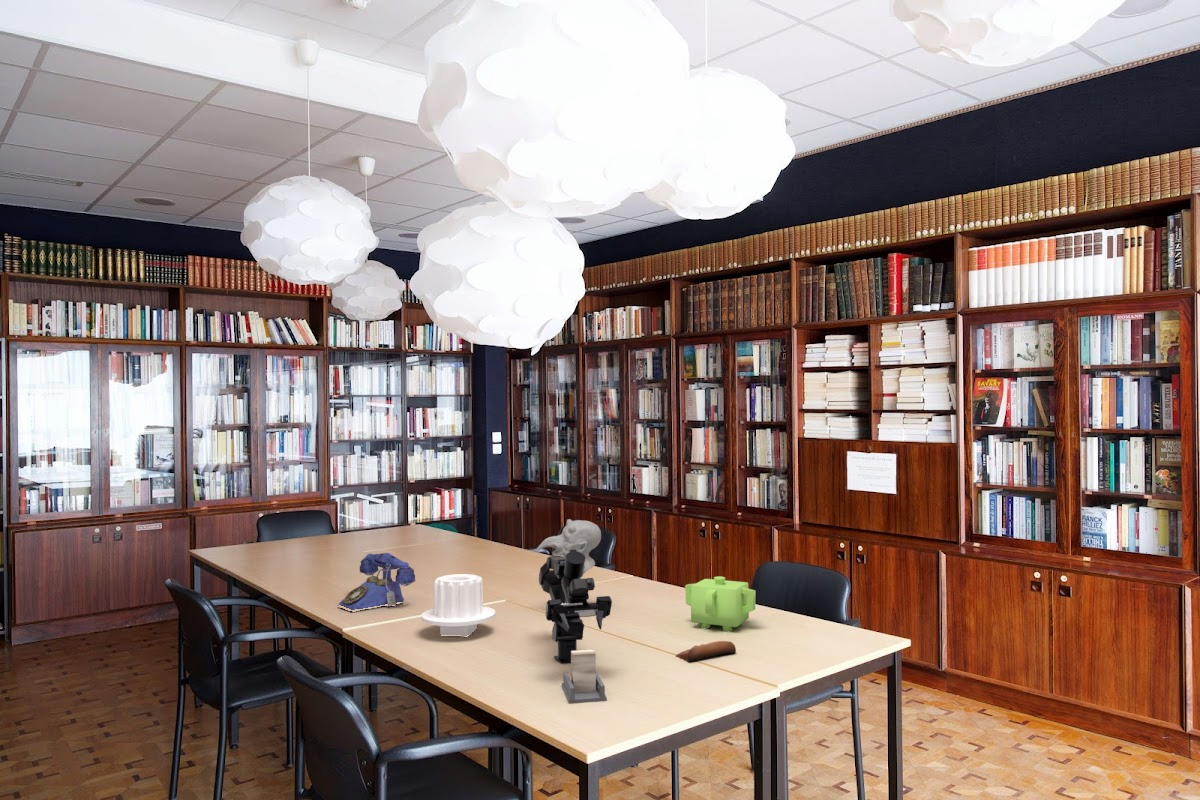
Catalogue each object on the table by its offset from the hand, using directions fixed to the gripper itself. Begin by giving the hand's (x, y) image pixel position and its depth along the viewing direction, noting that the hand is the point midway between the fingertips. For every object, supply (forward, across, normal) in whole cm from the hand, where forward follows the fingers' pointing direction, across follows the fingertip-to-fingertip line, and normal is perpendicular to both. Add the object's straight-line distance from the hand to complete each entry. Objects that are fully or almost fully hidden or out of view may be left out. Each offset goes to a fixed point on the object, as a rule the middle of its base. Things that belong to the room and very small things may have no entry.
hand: (584, 629), depth 232 cm
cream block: (+14, -2, +8) cm, 16 cm away
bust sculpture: (-60, +15, +54) cm, 82 cm away
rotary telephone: (-93, -59, +74) cm, 133 cm away
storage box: (-32, +60, +37) cm, 77 cm away
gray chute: (+14, -2, +9) cm, 17 cm away
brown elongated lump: (-5, +42, +21) cm, 47 cm away
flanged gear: (-47, -29, +46) cm, 72 cm away
